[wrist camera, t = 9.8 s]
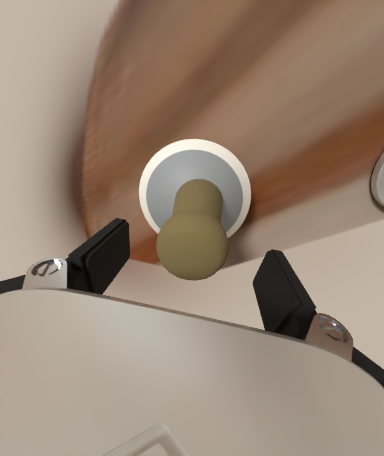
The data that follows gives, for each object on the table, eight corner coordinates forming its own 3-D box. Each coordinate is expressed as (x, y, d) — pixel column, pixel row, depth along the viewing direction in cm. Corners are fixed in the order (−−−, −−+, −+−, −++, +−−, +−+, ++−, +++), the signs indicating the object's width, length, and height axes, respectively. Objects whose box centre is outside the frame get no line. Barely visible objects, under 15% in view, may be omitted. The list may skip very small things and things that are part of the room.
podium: (257, 150, 21) (270, 151, 16) (228, 239, 27) (232, 256, 23) (151, 131, 21) (137, 127, 17) (149, 224, 27) (138, 239, 23)
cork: (233, 193, 19) (259, 245, 9) (208, 232, 22) (209, 304, 12) (187, 169, 18) (163, 199, 8) (167, 212, 21) (132, 273, 11)
